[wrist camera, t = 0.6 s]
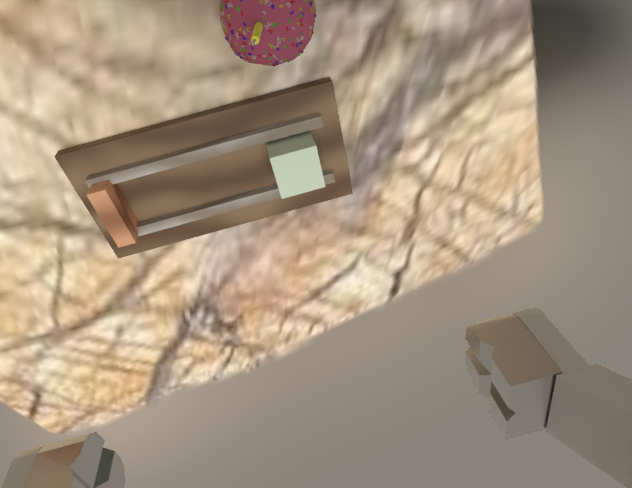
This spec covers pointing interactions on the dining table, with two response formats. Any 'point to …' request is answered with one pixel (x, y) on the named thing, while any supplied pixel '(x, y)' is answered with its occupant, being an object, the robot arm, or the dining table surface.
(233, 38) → the cupcake
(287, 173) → the block
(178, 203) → the guide board
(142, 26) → the dining table surface
